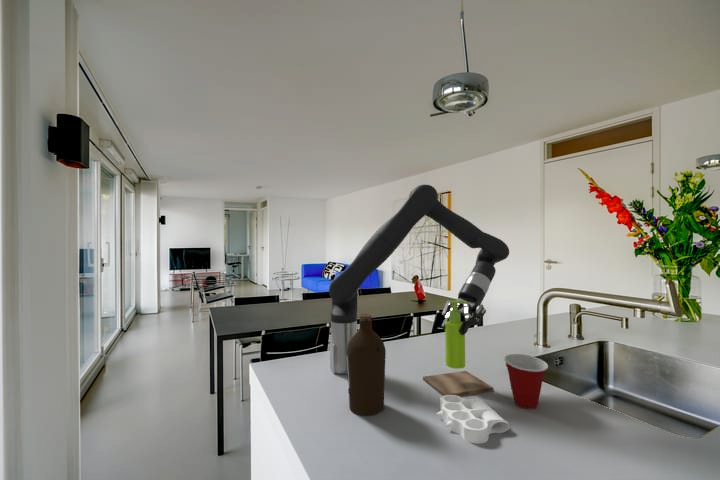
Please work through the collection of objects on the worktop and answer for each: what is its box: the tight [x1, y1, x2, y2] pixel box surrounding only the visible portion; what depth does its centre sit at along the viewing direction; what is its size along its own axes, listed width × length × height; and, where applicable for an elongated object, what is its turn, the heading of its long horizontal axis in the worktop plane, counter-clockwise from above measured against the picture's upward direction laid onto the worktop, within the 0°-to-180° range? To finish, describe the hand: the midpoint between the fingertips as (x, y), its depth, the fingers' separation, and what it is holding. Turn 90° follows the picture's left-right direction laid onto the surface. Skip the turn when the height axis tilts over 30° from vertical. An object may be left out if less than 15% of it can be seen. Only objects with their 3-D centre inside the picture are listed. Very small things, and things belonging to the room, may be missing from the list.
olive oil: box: [346, 313, 387, 416], centre depth 93 cm, size 11×11×25 cm
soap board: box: [422, 370, 494, 397], centre depth 106 cm, size 16×14×1 cm
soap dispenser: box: [444, 300, 468, 369], centre depth 106 cm, size 6×7×20 cm
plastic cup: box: [503, 353, 549, 410], centre depth 93 cm, size 11×11×12 cm
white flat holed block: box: [436, 395, 510, 445], centre depth 84 cm, size 3×18×15 cm
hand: (452, 331), depth 106 cm, fingers closed on soap dispenser, 6 cm apart
